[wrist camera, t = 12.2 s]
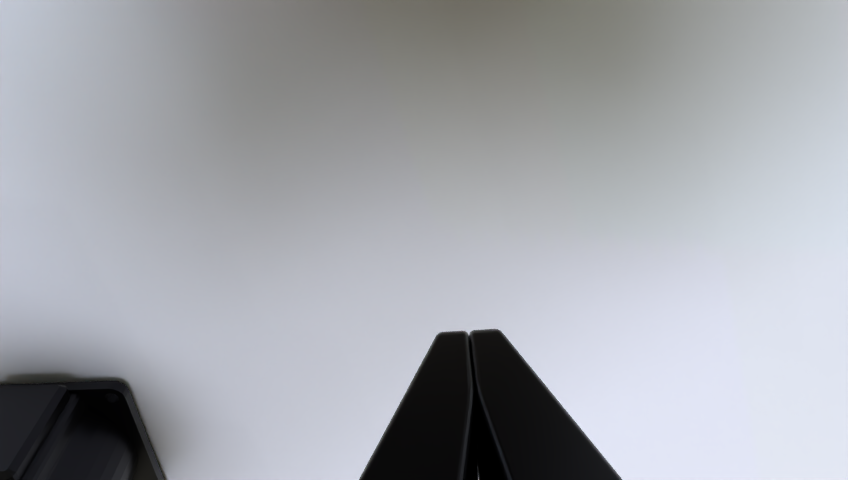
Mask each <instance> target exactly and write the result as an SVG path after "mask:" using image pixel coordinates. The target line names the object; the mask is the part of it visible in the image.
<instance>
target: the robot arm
mask: <svg viewBox="0 0 848 480" xmlns="http://www.w3.org/2000/svg"><path fill="white" fill-rule="evenodd" d="M114 394H115V395H114ZM478 478H479V480H622V479H621V477H620V476H619V475H618V474H617V473H616V471H615V470H614V469H613V468H612V466H611V465H610V464H609V463H608V462H607V460H606V459H605V458H604V457H603V455H602V454H601V453H600V452H599V450H598V449H597V448H596V447H595V446H594V444H593V443H592V442H591V441H590V439H589V438H588V437H587V436H586V435H585V433H584V432H583V431H582V430H581V428H580V427H579V426H578V425H577V424H576V422H575V421H574V420H573V419H572V417H571V416H570V415H569V414H568V412H567V411H566V410H565V409H564V408H563V406H562V405H561V404H560V403H559V401H558V400H557V399H556V398H555V397H554V395H553V394H552V393H551V392H550V390H549V389H548V388H547V387H546V386H545V384H544V383H543V382H542V381H541V379H540V378H539V377H538V376H537V375H536V373H535V372H534V371H533V370H532V368H531V367H530V366H529V365H528V363H527V362H526V361H525V360H524V359H523V357H522V356H521V355H520V354H519V352H518V351H517V350H516V349H515V348H514V346H513V345H512V344H511V343H510V341H509V340H508V339H507V338H506V337H505V335H504V334H503V333H502V332H501V331H500V330H498V329H486V330H473V331H471V332H470V334H469V335H468V333H467V332H465V331H452V332H440V333H439V334H437V336H436V337H435V339H434V341H433V343H432V345H431V346H430V348H429V350H428V352H427V354H426V356H425V358H424V359H423V361H422V363H421V365H420V367H419V369H418V371H417V373H416V374H415V376H414V378H413V380H412V382H411V384H410V386H409V387H408V389H407V391H406V393H405V395H404V397H403V399H402V400H401V402H400V404H399V406H398V408H397V410H396V412H395V414H394V415H393V417H392V419H391V421H390V423H389V425H388V427H387V428H386V430H385V432H384V434H383V436H382V438H381V440H380V441H379V443H378V445H377V447H376V449H375V451H374V453H373V455H372V456H371V458H370V460H369V462H368V464H367V466H366V468H365V469H364V471H363V473H362V475H361V477H360V479H359V480H478ZM0 480H164V477H163V475H162V472H161V470H160V467H159V465H158V462H157V459H156V457H155V454H154V452H153V449H152V447H151V444H150V442H149V439H148V437H147V434H146V432H145V429H144V426H143V424H142V421H141V419H140V416H139V414H138V411H137V409H136V406H135V404H134V401H133V399H132V396H131V394H130V391H129V389H128V388H127V386H125V385H124V384H123V383H120V382H117V381H97V382H68V383H40V384H11V385H0Z"/></svg>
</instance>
